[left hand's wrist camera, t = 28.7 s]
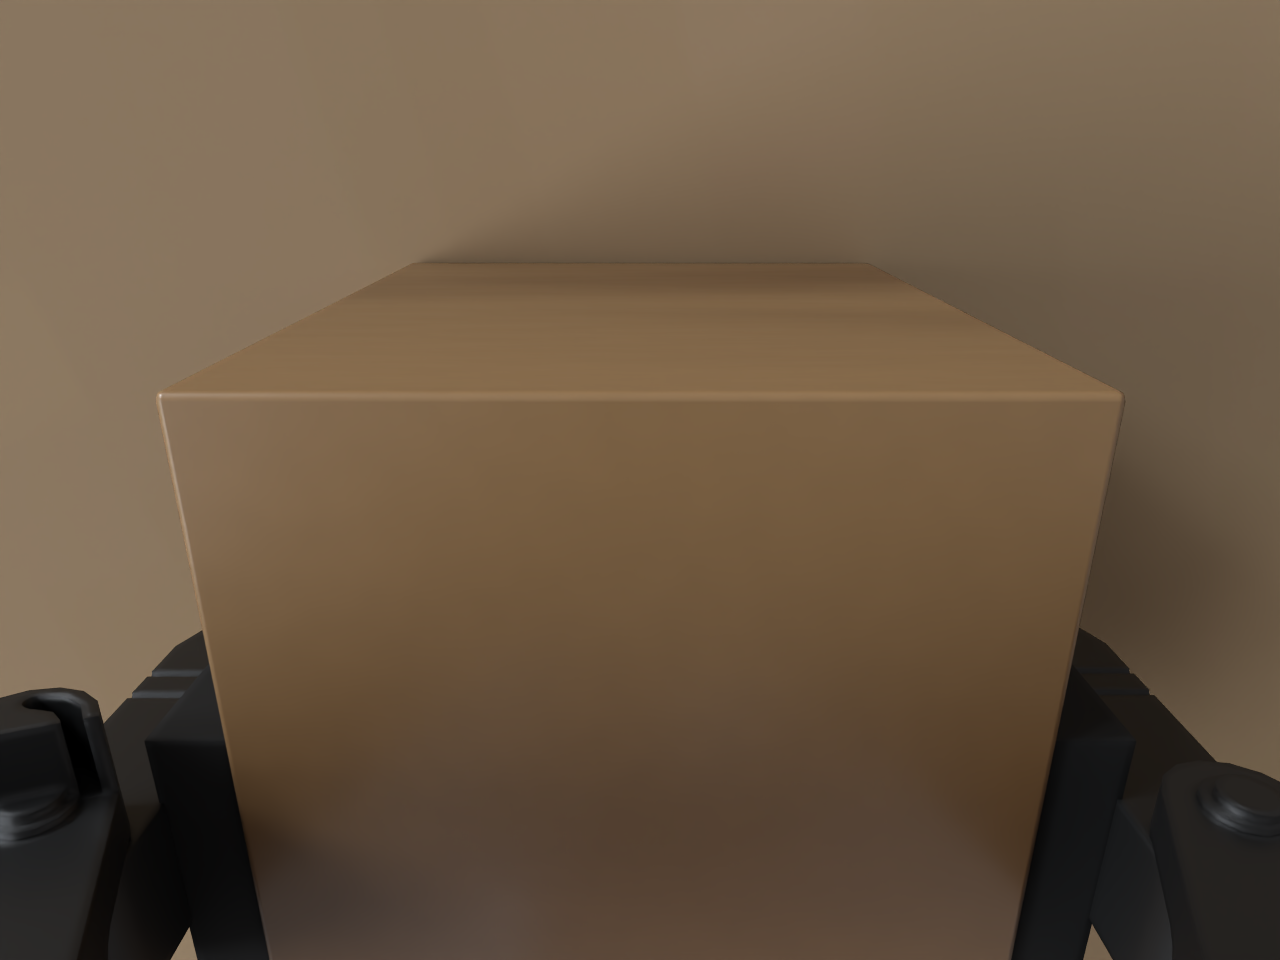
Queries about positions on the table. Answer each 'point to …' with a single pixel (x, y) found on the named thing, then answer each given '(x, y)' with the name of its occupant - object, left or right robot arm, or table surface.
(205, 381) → the block
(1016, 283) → the table surface
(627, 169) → the table surface
